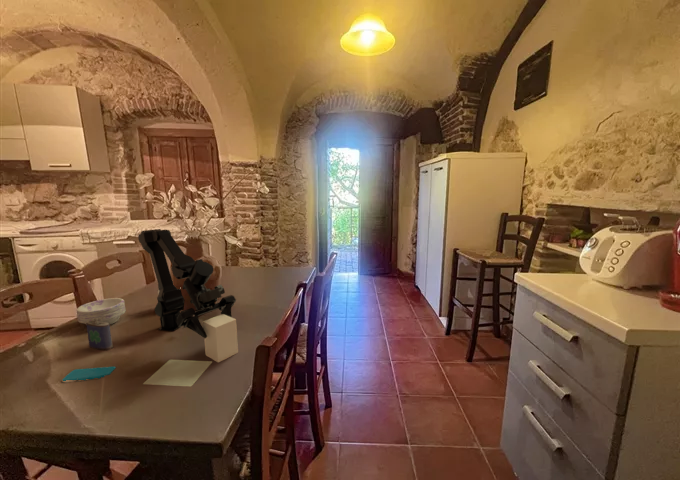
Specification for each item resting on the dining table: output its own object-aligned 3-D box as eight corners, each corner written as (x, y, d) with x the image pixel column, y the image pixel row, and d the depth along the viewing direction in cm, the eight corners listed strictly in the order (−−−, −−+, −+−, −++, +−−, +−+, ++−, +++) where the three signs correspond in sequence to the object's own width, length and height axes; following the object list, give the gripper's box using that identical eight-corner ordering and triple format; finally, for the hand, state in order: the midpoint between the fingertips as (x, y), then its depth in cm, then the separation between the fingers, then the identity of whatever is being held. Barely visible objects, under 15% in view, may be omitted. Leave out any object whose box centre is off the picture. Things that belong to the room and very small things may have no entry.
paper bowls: (100, 314, 130) (98, 296, 129) (135, 314, 129) (133, 297, 128) (68, 331, 115) (64, 311, 114) (107, 331, 114) (104, 312, 113)
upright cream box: (205, 356, 98) (202, 321, 96) (225, 346, 104) (223, 313, 101) (218, 363, 94) (215, 327, 92) (238, 353, 99) (236, 319, 97)
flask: (114, 347, 103) (110, 317, 102) (106, 351, 101) (101, 321, 99) (94, 343, 106) (90, 314, 104) (85, 347, 103) (81, 318, 101)
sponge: (104, 378, 85) (116, 364, 91) (58, 381, 84) (73, 367, 90) (105, 383, 86) (117, 368, 91) (59, 386, 85) (75, 371, 90)
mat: (142, 385, 83) (142, 383, 83) (170, 360, 95) (169, 359, 95) (191, 387, 82) (191, 386, 82) (212, 362, 94) (212, 361, 94)
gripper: (177, 286, 90) (200, 331, 86) (231, 272, 105) (253, 309, 101) (166, 305, 96) (188, 348, 92) (219, 289, 111) (240, 325, 107)
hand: (219, 331), depth 97 cm, fingers open, 9 cm apart
